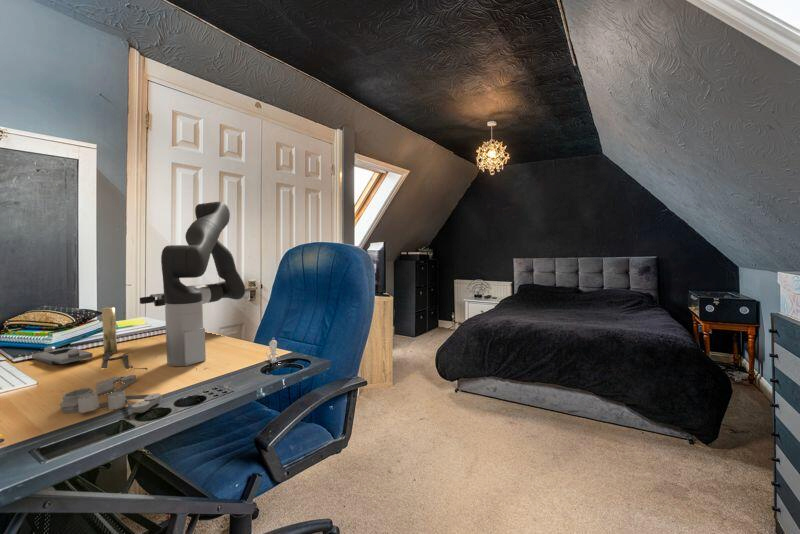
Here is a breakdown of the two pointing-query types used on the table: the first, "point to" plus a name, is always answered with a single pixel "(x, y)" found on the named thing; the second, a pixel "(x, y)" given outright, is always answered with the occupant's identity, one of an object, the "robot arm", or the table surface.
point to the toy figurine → (272, 350)
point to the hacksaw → (125, 358)
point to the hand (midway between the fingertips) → (147, 302)
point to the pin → (109, 330)
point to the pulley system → (89, 401)
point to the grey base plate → (61, 355)
